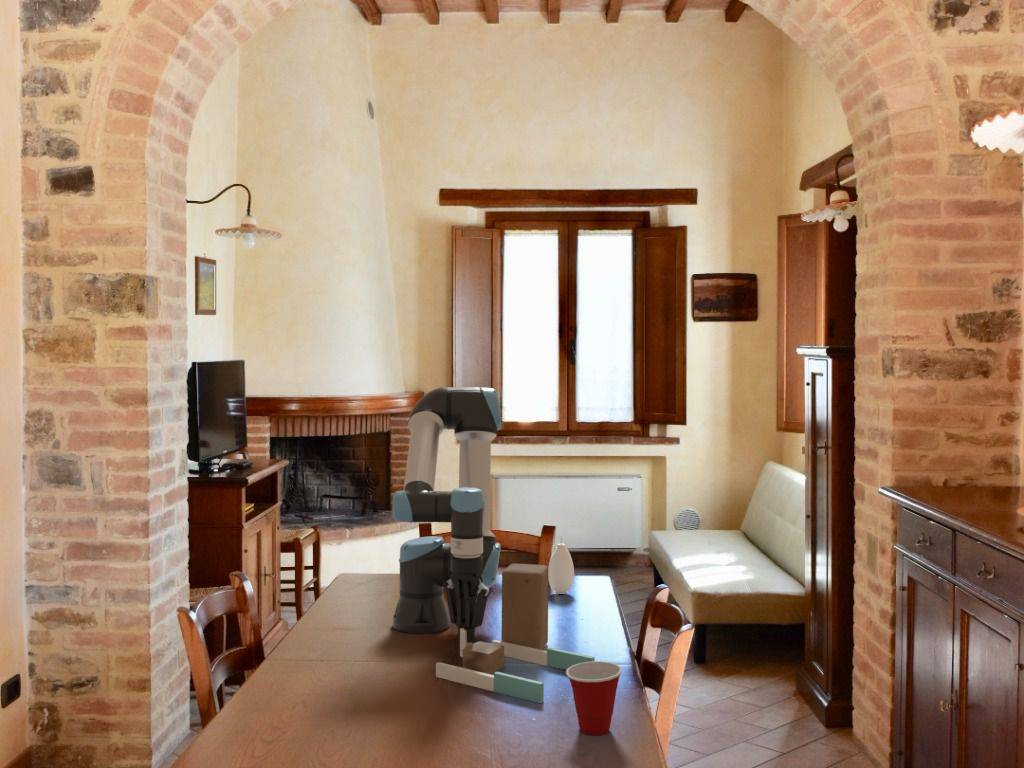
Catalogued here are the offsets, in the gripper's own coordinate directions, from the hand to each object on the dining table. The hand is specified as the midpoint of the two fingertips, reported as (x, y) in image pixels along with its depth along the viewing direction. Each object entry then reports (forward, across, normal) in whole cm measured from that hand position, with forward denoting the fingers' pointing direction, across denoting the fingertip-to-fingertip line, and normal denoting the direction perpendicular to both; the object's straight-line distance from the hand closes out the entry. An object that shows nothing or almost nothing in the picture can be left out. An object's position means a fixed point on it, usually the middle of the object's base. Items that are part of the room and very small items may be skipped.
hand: (466, 655), depth 225 cm
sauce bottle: (+2, -18, +69) cm, 71 cm away
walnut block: (+2, +5, 0) cm, 5 cm away
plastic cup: (+3, +44, -16) cm, 47 cm away
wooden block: (+2, +4, +19) cm, 19 cm away
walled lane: (+2, +13, 0) cm, 13 cm away
